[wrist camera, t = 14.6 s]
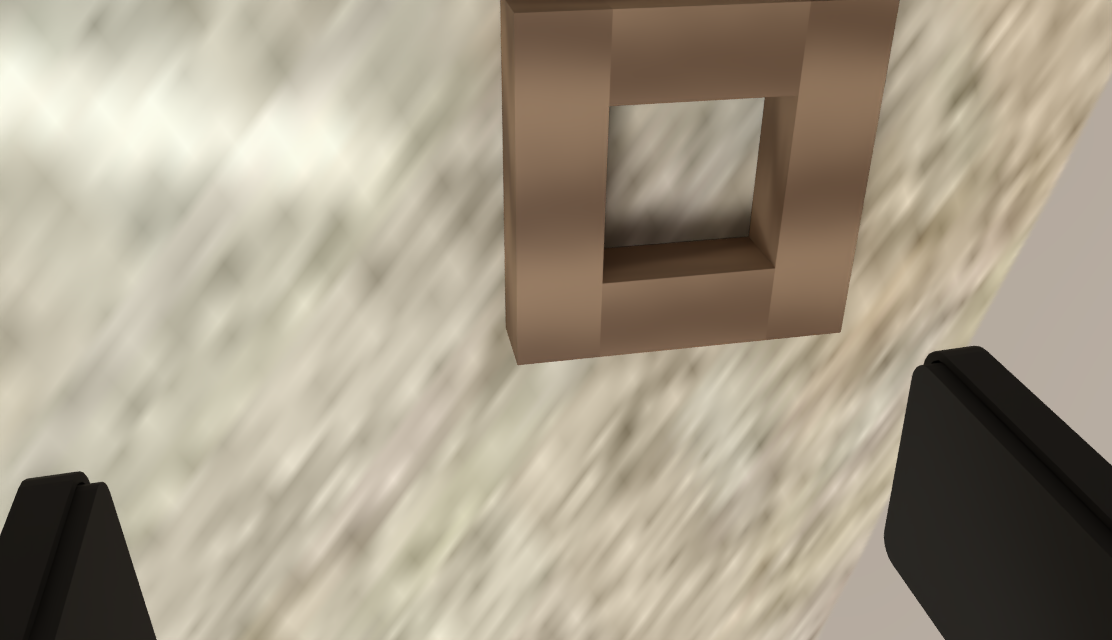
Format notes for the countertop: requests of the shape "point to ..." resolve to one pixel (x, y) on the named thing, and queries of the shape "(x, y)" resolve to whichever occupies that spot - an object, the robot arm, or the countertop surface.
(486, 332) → the countertop surface
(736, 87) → the socket block
